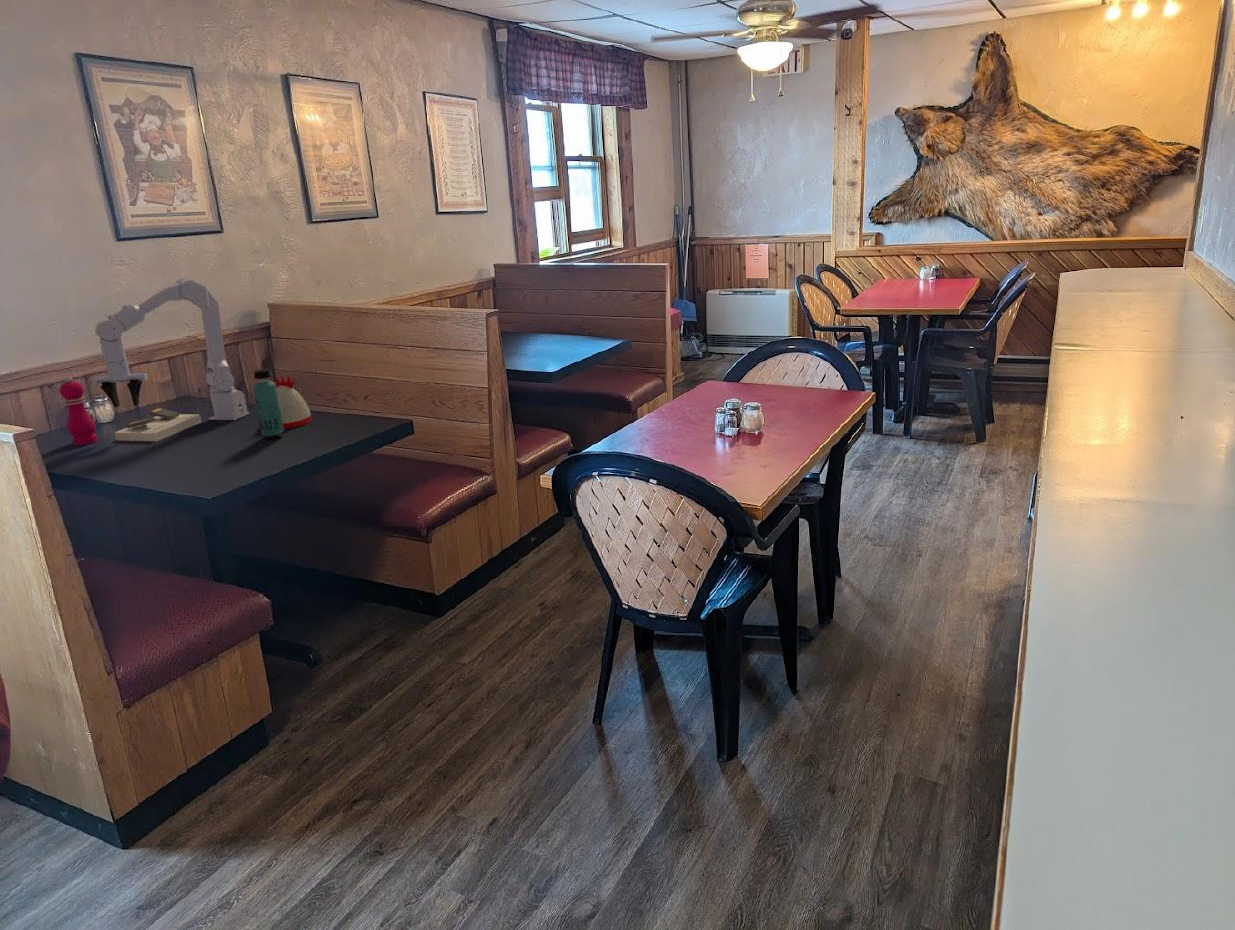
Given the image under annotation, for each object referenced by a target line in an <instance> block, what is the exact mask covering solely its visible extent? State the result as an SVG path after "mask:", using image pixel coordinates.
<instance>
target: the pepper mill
mask: <svg viewBox="0 0 1235 930" xmlns="http://www.w3.org/2000/svg"><path fill="white" fill-rule="evenodd" d="M64 381H65V382H63V383H62V384H61V385H60V387H59V393H60V396H61V397H63V398H64V399H63V402H64V404H65V405H66V406H67V409H68V421H67V432H68V434H69V435H71V436H72V438H71V439H72V443H73V445H75V446H84V445H90V444H93V443H96V442H97V441H98V437H97V434H95V432H96V429H97V425H96V423H95V421H94V419H93V418H92V417H91V416H90V414H89V413H88V411H87V410H86V406H85V401H86V400H85V397H84V396H83V394H84V393H85V388H84V386H83V384H81V383H80V382H78V381H73V377H72V376H66V377H65V380H64Z"/></svg>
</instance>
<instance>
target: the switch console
mask: <svg viewBox="0 0 1235 930" xmlns="http://www.w3.org/2000/svg"><path fill="white" fill-rule="evenodd" d="M153 417H154V418H155V421H153V422H150V423H148V424H145V425H140V426H136V427H132V428H127V427H125V428H123V429H119V430H118V431H115V432H114V437H115V440H116V441H120V442H122V441H123V442H158V441H161V440H164V439H165V438H169V437H171V436H172V435H176V434H178V433H180V432H182V431H184V430H187V429H188V428H189V429H190V428H191V427H193V426H196V425H199V424H201V423H202V417H201V414H194V413H193V414H192V413H191V414H189V413H188V414H187V413H186V414H182V413H181V414H180V413H179V416H177V417H175V418H172V419H166V418H162V417H158V416H153Z"/></svg>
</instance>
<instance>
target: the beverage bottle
mask: <svg viewBox="0 0 1235 930" xmlns="http://www.w3.org/2000/svg"><path fill="white" fill-rule="evenodd" d="M253 373H254V374H253V375H254V379H255V380H260V381H257V382H255V383H253V385H252V390H253V396H254V397H253V398H254V402H255V403H254V404H255V407H256V411H257V417H258V424H259V425H258V426H259V427H260V433H261V434H262V435H263V436H275V435H279V434H282V433H284V430H285V429H284V427H283V426H284V425H283V422H282V415H281V410H280V406H279V401H278V395H277V390H276V384H275V383H276V382H275V381H274V382H275V383H274V382H272V381H271V380H269V379H268V378H271V373H270V370H269V369H265V368H263V369H257V370H255V371H254V372H253ZM263 379H267V380H263Z"/></svg>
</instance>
